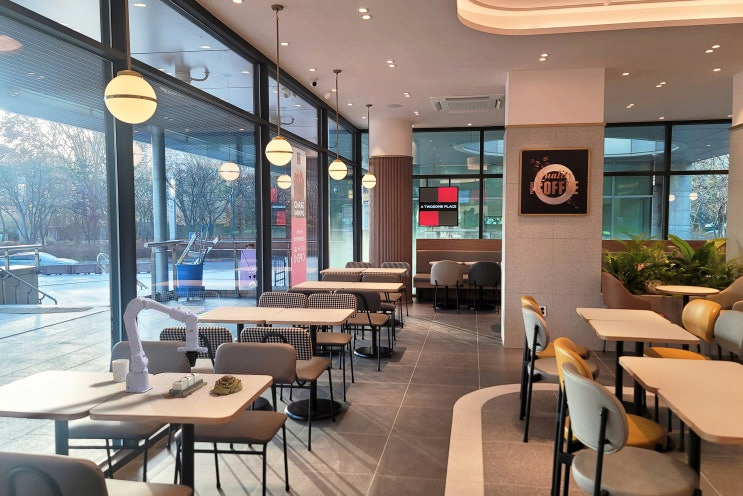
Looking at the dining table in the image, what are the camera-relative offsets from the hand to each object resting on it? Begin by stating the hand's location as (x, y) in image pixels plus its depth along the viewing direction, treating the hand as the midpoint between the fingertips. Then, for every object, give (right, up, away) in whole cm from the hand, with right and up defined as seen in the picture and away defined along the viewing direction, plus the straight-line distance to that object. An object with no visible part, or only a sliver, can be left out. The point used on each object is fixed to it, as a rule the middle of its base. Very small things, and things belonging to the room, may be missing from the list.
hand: (192, 366), depth 255 cm
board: (-1, -10, -6) cm, 11 cm away
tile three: (0, -7, 0) cm, 7 cm away
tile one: (-2, -7, -12) cm, 14 cm away
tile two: (-1, -7, -6) cm, 9 cm away
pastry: (+19, -10, -6) cm, 22 cm away
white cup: (-40, -10, +12) cm, 43 cm away
